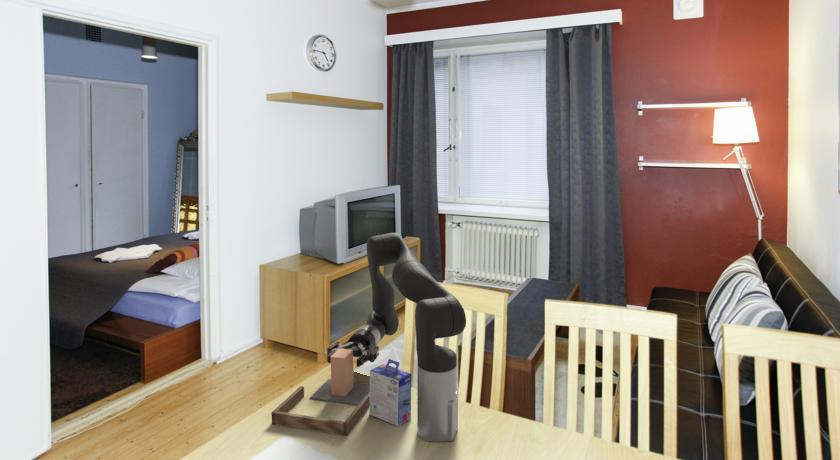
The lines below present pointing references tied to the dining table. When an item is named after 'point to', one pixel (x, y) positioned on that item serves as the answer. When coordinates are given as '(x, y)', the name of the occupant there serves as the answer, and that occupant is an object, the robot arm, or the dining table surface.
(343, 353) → the tall peach block
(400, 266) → the robot arm
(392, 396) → the ink cartridge box
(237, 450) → the dining table surface
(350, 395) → the charcoal mat
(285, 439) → the dining table surface
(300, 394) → the walnut open frame
